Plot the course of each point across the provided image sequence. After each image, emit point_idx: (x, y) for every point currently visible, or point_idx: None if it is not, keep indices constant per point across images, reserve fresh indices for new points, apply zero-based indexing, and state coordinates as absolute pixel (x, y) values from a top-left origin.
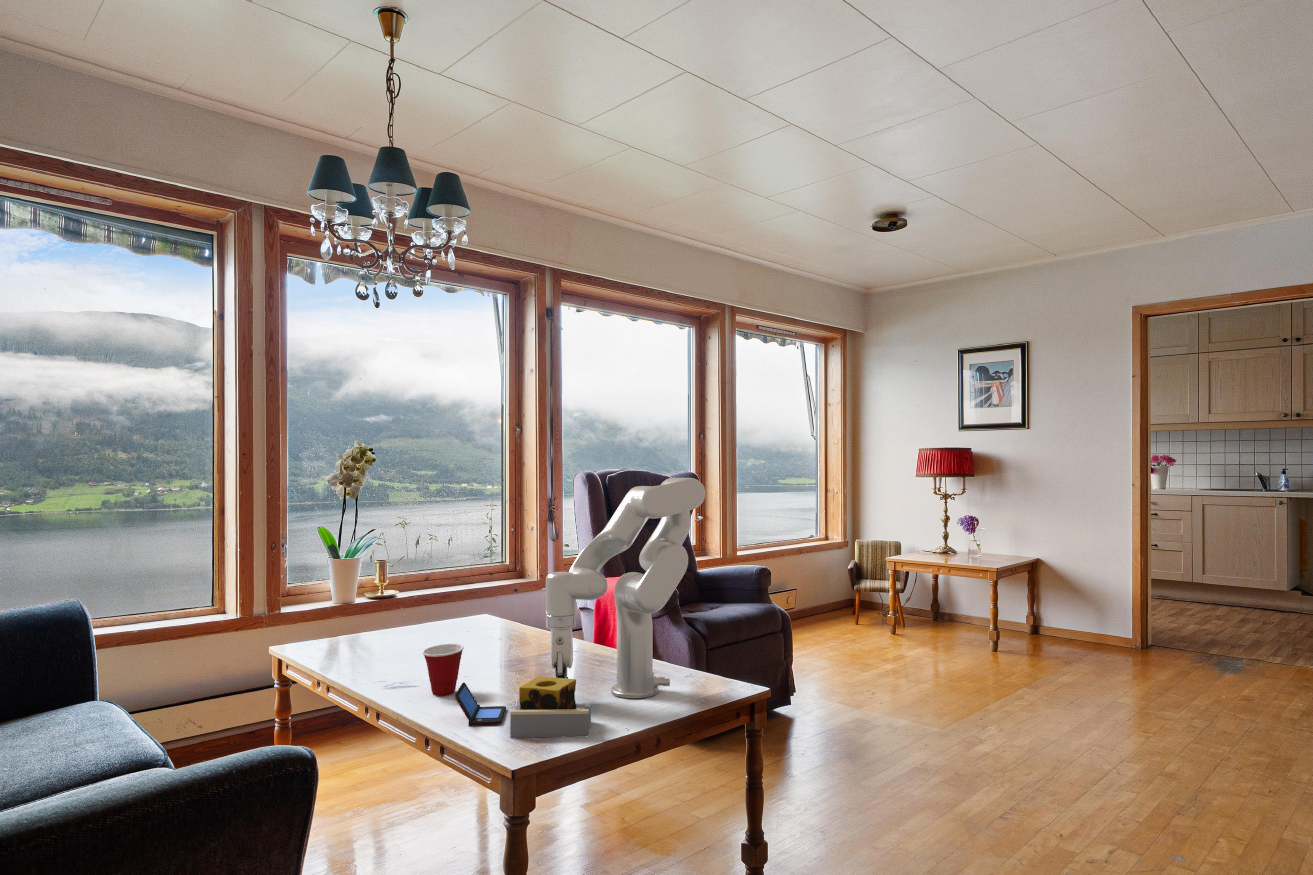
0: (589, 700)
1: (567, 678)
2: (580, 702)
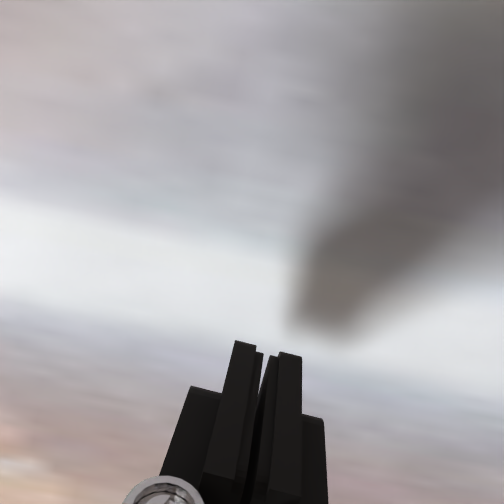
0: (247, 78)
1: (291, 496)
2: (289, 184)
